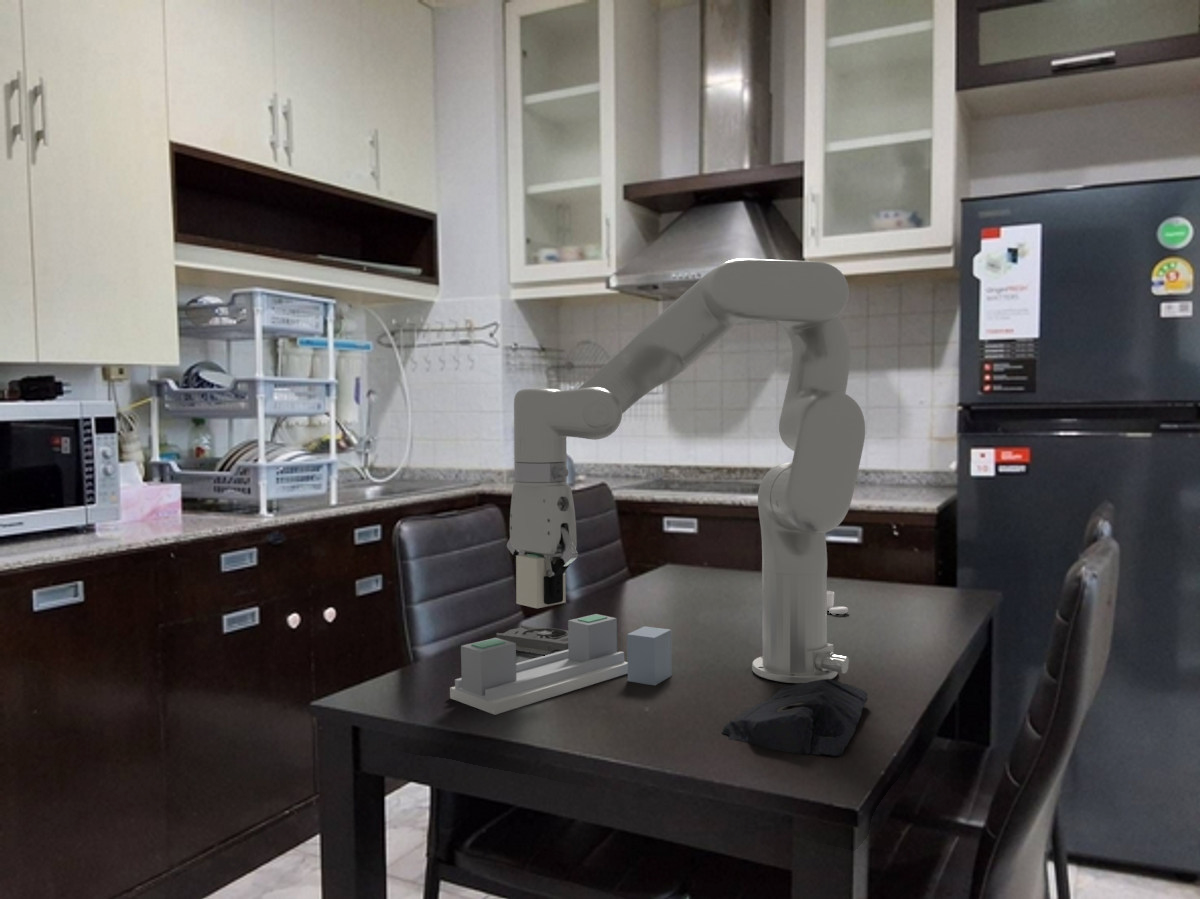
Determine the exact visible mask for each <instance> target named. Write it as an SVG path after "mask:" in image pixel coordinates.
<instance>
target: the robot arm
mask: <svg viewBox="0 0 1200 899" xmlns="http://www.w3.org/2000/svg"><path fill="white" fill-rule="evenodd" d="M849 297H850V288H849V284H848V281H847V279H846V277H845V275H844V274H843V273H842V271H841V270H840V269H838V268H837V267H836V266H833V265H832V264H830V263H827V262H823V261H812V260H811V261H809V260H785V259H783V260H782V259H765V258H764V259H763V258H762V259H760V258H734V259H731V260H728V261H725V262H723V263H721V264H720V265H717V266H716V267H714V268H713V269H711V270H710V271H708V272H707V273H706V274H705V275H703V276H702V277H701V278H700V279H699V280H697V282H695V283H694V284H693V285H692V286H691V287H690V288H688V289H687V290H686V291H685V292H684V293H683V294H681V295H680V297H678V298H677V299H676V300H674V302H673V303H672V304H670V305H669V306H668V307H667V308H666V309H665V310H664V311H662V312H661V313H660V314H659V315H658V316H657V317H655V318H654V320H652V321H650V322H649V323H648V324H647V325H646V326H645V327H644V328H643V329H642V330H641V331H640V332H638V333H637V335H635V337H633V338H632V340H631V341H630V342H628V344H627V345H626V346H625V347H623V348H622V350H620V351H619V352H618V353H617V354H616V355H615V356H614V357H613V358H612V359H610V360H609V361H607V362H606V363H605V364H604V365H603V366H602V367H601V368H600V369H599V370H598V371H596V372H595V373H594V374H593V375H592V376H591V377H590V378H589V379H587V380H586V381H585V382H584V383H582V384H581V385H580V386H579V387H578V388H576V389H565V390H560V389H558V388H557V389H556V388H525V389H521V390H518V391H517V392H516V393H515V396H514V399H513V423H514V424H513V426H514V427H513V430H514V431H513V432H514V434H513V435H514V436H513V438H514V442H513V443H514V446H513V447H514V448H513V449H514V452H513V454H514V458H513V459H514V483H513V486H512V492H511V500H510V510H509V511H510V512H509V539H508V540H507V543H506V548H507V550H508V551H510V553H511V554H512V556H513V559H514V560H515V561H514V562H516V555H523V554H530V553H535V554H541V555H544V560H545V566H546V572H547V575H548V576H544V603H545V604H548V605H549V604H554V603H558V602H562V601H563V575H564V574H565V575H566V573H567V569H568V568H569V567H570V565H571V564H572V563H574V561H575V560H577V559H578V558H579V553H578V551H577V523H576V519H577V518H576V510H575V504H574V503H575V502H574V496H573V492H572V487H571V484H568V481H567V480H568V478H567V477H568V476H569V470H568V466H567V459H568V458H567V455H568V454H567V438H569V437H570V438H579V439H586V440H601V439H605V438H607V437H609V436H611V435H612V434H613V433H614V432H616V430H617V429H618V427H619V426H620V425H621V422H622V417H623V414H624V413H625V412H626V411H627V410H628V409H630V408H631V407H632V406H633V405H634V404H636V402H638V401H639V400H641V399H642V398H643V397H644V396H646V395H647V394H648V393H650V392H651V391H652V390H654V389H656V388H658V387H659V386H660V385H663V384H665V383H667V382H669V381H672V379H674V378H676V377H677V376H679V375H680V374H681V373H684V371H686V370H687V369H688V368H689V367H690V366H691V365H692V364H694V363H695V362H696V361H697V360H698V359H700V357H701V356H703V354H705V353H706V352H707V351H708V350H710V348H712V346H714V345H715V344H716V343H717V342H718V341H719V340H720V339H722V338H723V337H725V335H726V334H727V333H729V332H730V331H731V330H732V329H733V328H734V327H735V326H736V325H737V324H739V323H740V322H741V321H744V320H751V321H752V320H755V321H767V322H768V321H769V322H777V324H779V325H780V326H781V327H782V329H783V330H784V331H785V333H786V335H787V336H788V339H789V341H790V344H791V351H792V353H791V355H792V357H791V363H790V371H789V377H788V382H787V387H786V390H785V394H784V399H783V404H782V408H781V412H780V417H779V421H778V422H779V423H778V431H779V432H778V434H779V435H780V439H781V440H782V443H784V445H785V446H786V447H787V448H788V449H789V450H791V451H793V456H792V461H791V462H790V461H789V462H783V463H781V464H778V465H775V466H774V467H772V468H771V469H769V470H768V471H767V472H766V474H765V475H764V477H763V478H762V480H761V482H760V483H759V488H758V492H757V507H758V508H757V509H758V517H759V524H760V535H761V536H760V537H761V554H762V555H761V556H762V560H761V561H762V562H761V565H762V566H761V574H762V575H761V585H762V586H761V587H762V588H761V591H762V592H761V598H762V600H761V603H762V604H761V607H762V612H761V615H762V616H761V620H762V623H761V624H762V626H761V627H762V631H761V632H762V634H761V636H762V643H761V645H762V654H761V655H762V656H759V657H756V658H755V659H754V660H752V662H751V663H752V664H751V670H752V671H753V673H754V674H755V675H756V676H758V677H761V678H763V679H766V680H769V681H774V682H780V683H789V684H803V683H808V682H812V681H817V680H823V679H832V680H833V679H835V677H837V675H838V673H840V674H846V673H847V672H848V670H849V663H850V658H849V657H848V656H844V655H838V654H835V652H834V644H833V643H828V639H827V638H828V633H827V632H828V629H827V628H828V626H827V625H828V624H827V623H828V622H827V620H828V619H827V618H828V615H827V613H828V612H827V591H828V586H827V584H828V582H827V581H828V580H827V578H828V577H827V576H828V574H827V573H828V572H827V571H828V552H827V549H828V548H827V540H826V535H825V534H826V533H829V532H830V531H832V530H835V528H837V527H838V526H839V525H840V524H841V523H842V522H843V521H844V519H845V518H846V515H847V514H848V512H849V511H850V510H849V509H850V506H851V504H852V500H853V495H854V492H855V487H856V482H857V478H858V475H859V474H858V472H859V468H860V465H861V464H860V463H861V459H862V456H863V450H864V445H865V444H864V443H865V439H866V422H865V416H864V413H863V411H862V409H861V407H860V406H859V404H858V403H857V401H856V400H854V398H853V397H851V396H850V395H849V394H846V392H847V389H848V388H847V387H848V381H849V374H850V373H849V372H850V368H851V367H850V366H851V360H852V358H851V357H852V348H851V343H850V342H851V341H850V338H849V334H848V332H847V328H846V327H845V324H844V322H843V321H842V319H841V316H840V314H841V313H842V312H843V311H844V310H845V308H846V306H847V303H848V301H849ZM555 557H556V562H555V563H554V564H553V558H555Z"/></svg>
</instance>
